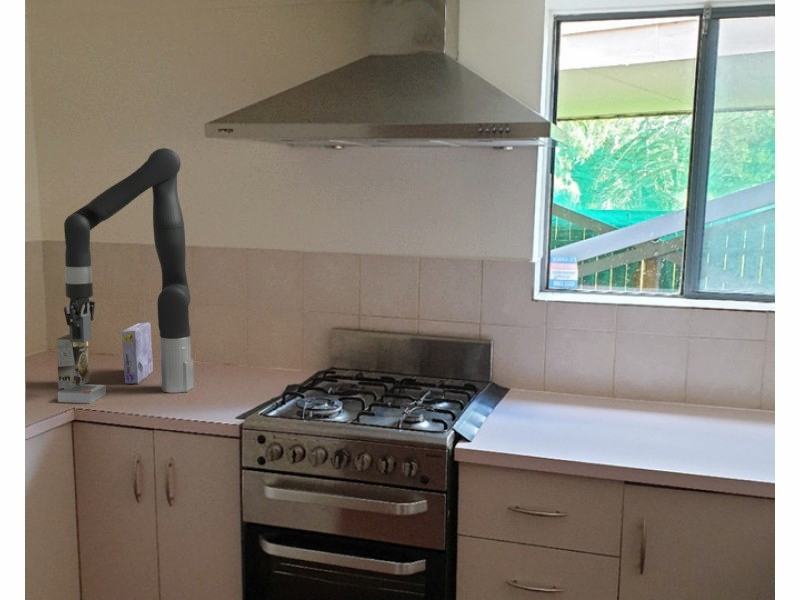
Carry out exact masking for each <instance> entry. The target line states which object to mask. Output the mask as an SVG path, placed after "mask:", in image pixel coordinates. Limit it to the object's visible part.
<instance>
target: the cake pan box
mask: <svg viewBox="0 0 800 600" xmlns="http://www.w3.org/2000/svg"><path fill="white" fill-rule="evenodd" d="M151 328H152V327H151V322H138V323H135V324H134V325H132V326H130V327H128V328H126V329H124V330H122V331H121V339H122V340H121V342H122V343H121V344H122V345H121V346H122V358H123V370H124V371H123V373H124V384H129V385H130V384H133V385H134V384H136V385H139V384H140V383H141V382H142V381H144V380H145V379H147V377H148V376H149V375H150V374H152V373H153V372H154V364H153V363H154V362H153V348H152V345H153V344H152V332H151V331H152V329H151Z"/></svg>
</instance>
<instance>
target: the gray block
mask: <svg viewBox="0 0 800 600" xmlns="http://www.w3.org/2000/svg"><path fill="white" fill-rule="evenodd" d="M75 316H79V315H75ZM76 321H77V319H76ZM70 322H71V319H70ZM69 334H70V342H73V347H76V346H79V345H81V346H89V341H92V321H91V315H89V313H88V314H83V315H82V319H80V336H81V338H80V339H73V338H72V327H71V326H69Z"/></svg>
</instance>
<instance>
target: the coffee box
mask: <svg viewBox="0 0 800 600" xmlns="http://www.w3.org/2000/svg"><path fill="white" fill-rule="evenodd" d="M88 346H89V345H88ZM88 346H81V345H79V346H76V347H73V342H70V333H68V334H66V335H64V336H61V337H59V338H56V355H57V356H56V359H57V361H56V363H57V379H58V380H57V382H58V386H57V387H58V389H62V388H67V387H69V386H71V385H73V384H86V383H87V384H89V382H90V370H89V369H90V367H89V349H88V348H89V347H88Z"/></svg>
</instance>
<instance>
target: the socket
mask: <svg viewBox="0 0 800 600" xmlns="http://www.w3.org/2000/svg"><path fill="white" fill-rule="evenodd" d="M106 395H107V386H106V384H89V383H87V384H73V385H71V386H69V387H67V388H65V389H62V390H61V389H60V391H58V392H57V402H58V403H68V404H71V403H73V404H92V403H93V402H95V401H98V400H99V399H101V398H103V397H105V396H106Z"/></svg>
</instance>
